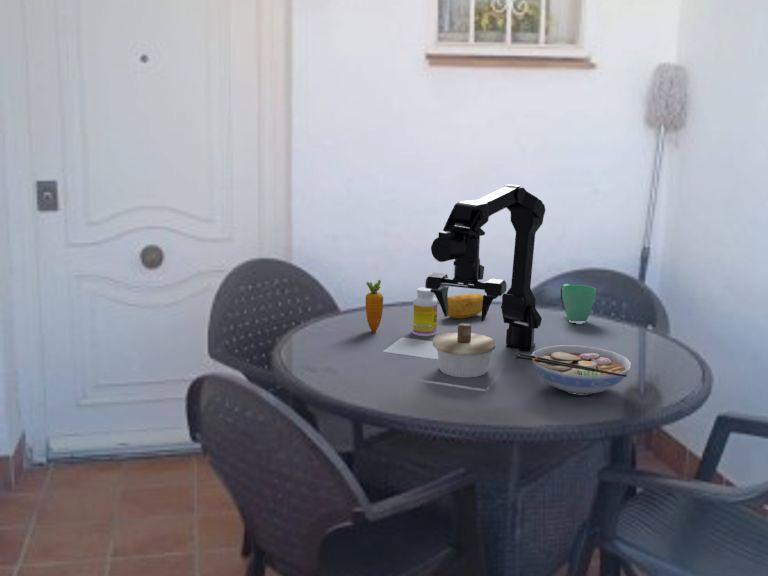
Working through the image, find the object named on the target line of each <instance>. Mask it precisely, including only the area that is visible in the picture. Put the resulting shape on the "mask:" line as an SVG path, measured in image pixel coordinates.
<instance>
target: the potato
mask: <svg viewBox="0 0 768 576" xmlns="http://www.w3.org/2000/svg"><path fill="white" fill-rule="evenodd" d="M484 295H485V294H481V293H478V292H477V293H462V294H456V295H450V296H448V316H447V317H449V318H452V319H467V318H470V317H471V318H472V317H474V316H476V315H479V314H480V313H482V304H483V296H484Z"/></svg>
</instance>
